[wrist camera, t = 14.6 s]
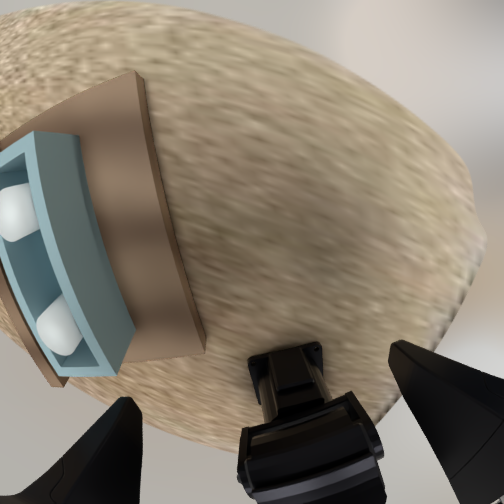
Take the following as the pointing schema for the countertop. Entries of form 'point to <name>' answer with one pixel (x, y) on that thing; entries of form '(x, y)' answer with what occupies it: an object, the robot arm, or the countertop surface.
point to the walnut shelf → (122, 221)
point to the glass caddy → (60, 257)
